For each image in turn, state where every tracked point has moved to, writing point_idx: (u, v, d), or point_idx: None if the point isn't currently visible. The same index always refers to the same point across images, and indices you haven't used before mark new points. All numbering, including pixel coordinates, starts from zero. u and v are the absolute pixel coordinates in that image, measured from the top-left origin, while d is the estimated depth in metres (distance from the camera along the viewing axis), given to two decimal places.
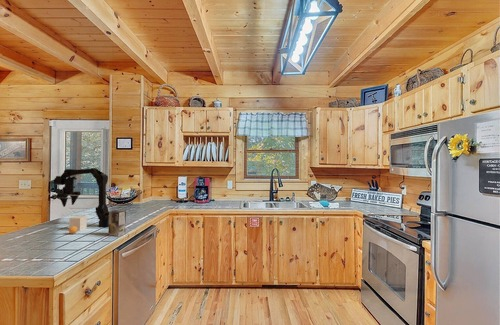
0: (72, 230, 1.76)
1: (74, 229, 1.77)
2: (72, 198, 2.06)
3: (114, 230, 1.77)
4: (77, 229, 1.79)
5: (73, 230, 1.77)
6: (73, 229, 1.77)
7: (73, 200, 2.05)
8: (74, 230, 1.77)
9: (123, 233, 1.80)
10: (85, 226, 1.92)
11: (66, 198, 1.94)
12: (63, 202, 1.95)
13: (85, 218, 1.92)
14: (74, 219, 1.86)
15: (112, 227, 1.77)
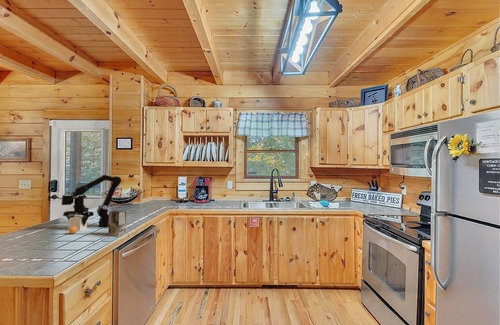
0: (72, 230, 1.76)
1: (74, 229, 1.77)
2: None
3: (114, 230, 1.77)
4: (77, 229, 1.79)
5: (73, 230, 1.77)
6: (73, 229, 1.77)
7: None
8: (74, 230, 1.77)
9: (123, 233, 1.80)
10: (85, 226, 1.92)
11: (67, 217, 1.87)
12: None
13: None
14: (74, 219, 1.86)
15: (112, 227, 1.77)
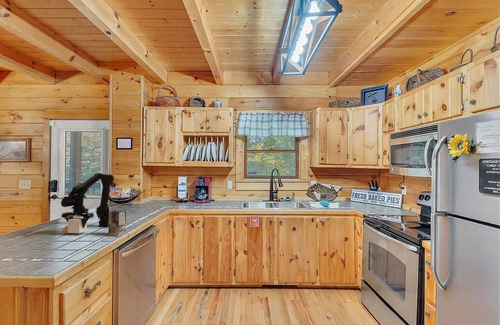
0: (64, 229, 1.76)
1: (64, 227, 1.77)
2: None
3: (114, 230, 1.77)
4: (67, 226, 1.79)
5: (64, 228, 1.77)
6: (64, 228, 1.77)
7: None
8: (65, 227, 1.77)
9: (123, 233, 1.80)
10: (85, 228, 1.81)
11: (66, 218, 1.75)
12: None
13: None
14: (73, 221, 1.74)
15: (112, 227, 1.77)
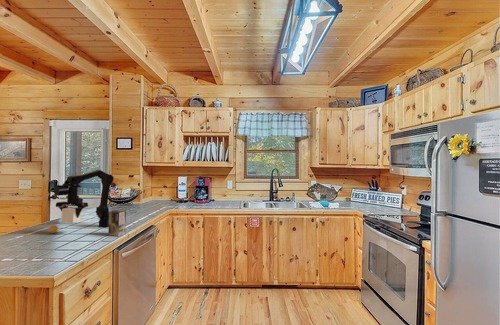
0: (51, 231, 1.76)
1: (54, 231, 1.77)
2: None
3: (114, 230, 1.77)
4: None
5: (52, 231, 1.77)
6: (53, 231, 1.76)
7: None
8: (53, 231, 1.77)
9: (123, 233, 1.80)
10: (79, 218, 1.81)
11: (60, 208, 1.76)
12: None
13: None
14: (67, 210, 1.74)
15: (112, 227, 1.77)
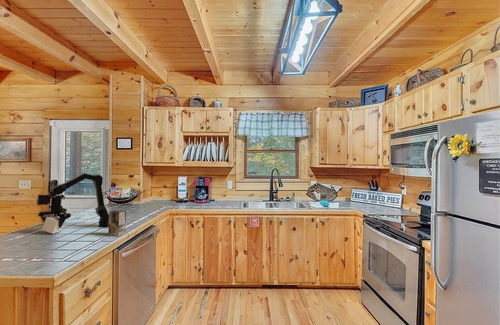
0: None
1: None
2: None
3: (114, 230, 1.77)
4: None
5: None
6: None
7: None
8: None
9: (123, 233, 1.80)
10: (60, 229, 1.80)
11: (41, 217, 1.76)
12: None
13: None
14: (50, 220, 1.74)
15: (112, 227, 1.77)
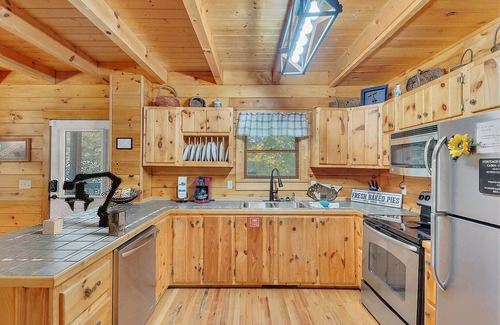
0: None
1: None
2: None
3: (114, 230, 1.77)
4: None
5: None
6: None
7: None
8: None
9: (123, 233, 1.80)
10: (60, 229, 1.81)
11: (67, 202, 1.92)
12: None
13: (60, 221, 1.80)
14: (48, 222, 1.75)
15: (112, 227, 1.77)
